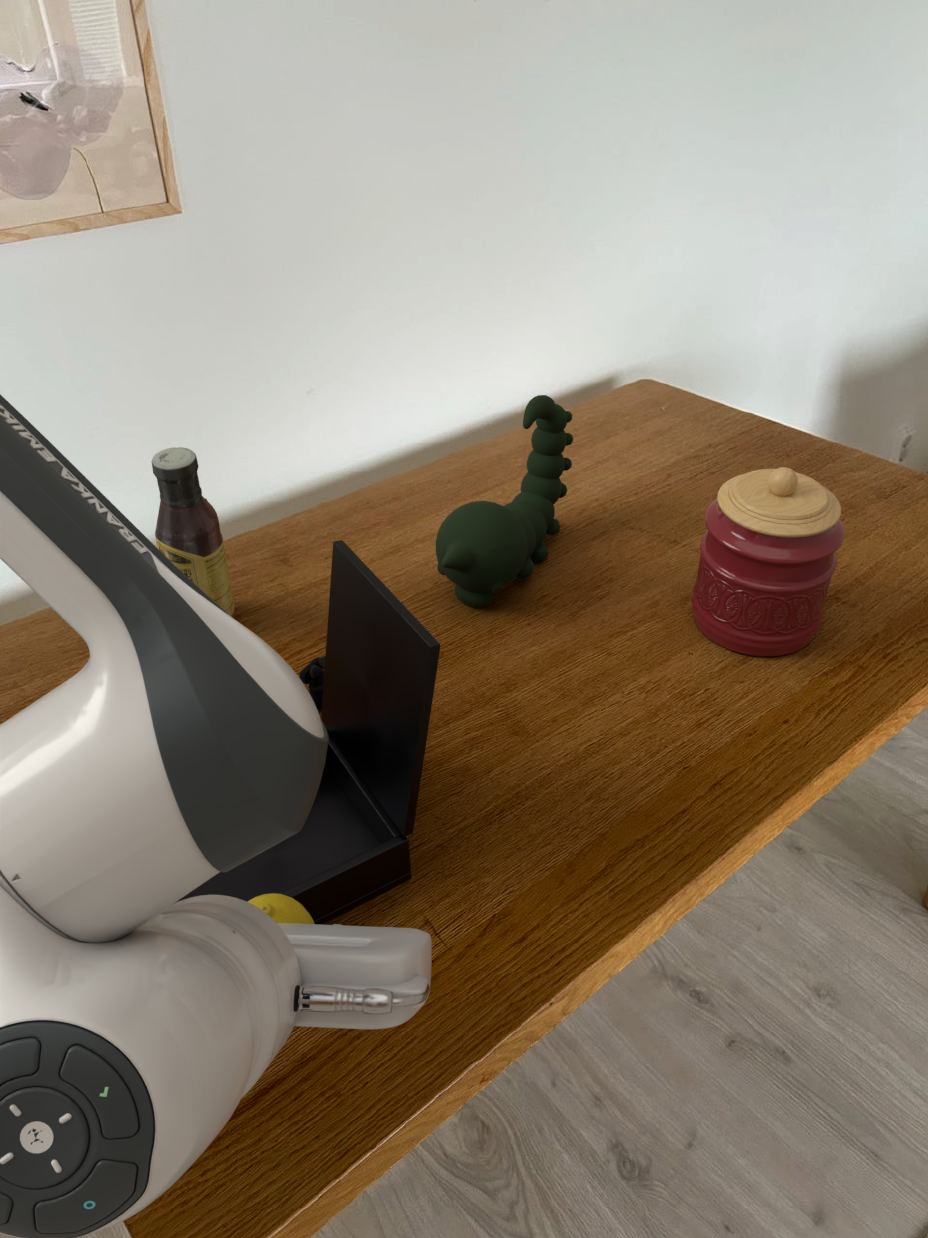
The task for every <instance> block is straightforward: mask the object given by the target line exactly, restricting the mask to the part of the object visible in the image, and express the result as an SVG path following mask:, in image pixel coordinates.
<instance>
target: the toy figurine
mask: <svg viewBox="0 0 928 1238" xmlns="http://www.w3.org/2000/svg"><path fill="white" fill-rule="evenodd" d="M572 420H573V414H572V412H571V411H569V410H565V409H564V408H563V406H561V405H560V404H558V403H556V402H555V400H554V399H553V398H552V397H551V396H548V395H547V394H538V395H536V396H534V397H532V398H531V399H530V400H529V401H528V403H527V404H526V406H525V408H524V413H523V418H522V427H523V429H525V430H528V429H530V428H531V427H532V426H533V424H535V426H536V427H535V428H534V430H533V432H532V434H531V438H530V441H531V447H532V450H531V451H530V453H529V454H528V456H527V459H526V470H527V472H526V473H525V474H524V475H523V478H522V480H521V483H520V492H519V493H518V494H517V495H515V496H514V498H513V499H512V501H511V502H508V503H506V504H504V505H502V504H499V503H497V502H494V501H487V500H476V501H475V500H473V501H471V502H468V503H467V502H466V503H464V504H462V505H460V506H459V507H457V508H454V509H453V510H452V511H451V512H450V513H449V514H448V515H447V516H446V517H445V519H444V520H443V521H442V523H441V524H440V527H439V528H438V531H437V534H436V538H435V554H436V560H437V567H436V568H437V572H438V573H439V574H440V575H442V576H444V577H446V578H447V579H448V580H449V581H450V582H451V583H453V584H454V585H455V586H454V595H455V597H456V599H457V600H459V601H460V602H461V603H462V604H464V605H466V606H469V607H472V608H476V609H483V608H485V607H488V606H489V605H490V604H491V603H492V602H493V599H494V597H495V593H496V592H500V591H502V590H503V588H505V587H506V586H508V585H509V584H511V583H512V582H513V581H514V580H515V579H516V578H517V579H520V580H526V579H529V578H531V576H532V575H533V573H534V562H536V563H541V562H543V561H545V560H547V557H548V556H549V548H548V546H547V545H545V544H544V542H545V540H546V538H547V536H555V535H557V534H558V533H559V532H560V530H561V524H560V521H559V520H558V519H556V518H555V515H556V514H555V513H556V512H555V504H556V503H557V502H558V500H559V499H563V498H564V497H565V496H566V495H567V493H568V488H567V485H566V484H564V483H563V482H562V480H561V476H563V473H564V472H566V471H569V470H570V469H571V468H572V466H573V462H572V459H570V457H564V454H563V453H564V451H565V449H566V447H567V446H571V445H572V444H573V442H574V436H573V434H571V433H570V432H566V430H565V429H566V427H567V425H568V423H571V421H572Z"/></svg>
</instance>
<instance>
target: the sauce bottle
mask: <svg viewBox="0 0 928 1238" xmlns="http://www.w3.org/2000/svg"><path fill="white" fill-rule="evenodd" d="M198 462H199V461H198V457H197V454H196V453H195V452H194V451H193V450H192V449H190V448H187V447H183V446H182V447H181V446H179V447H168V448H165V449H162V450H160V451H158V452H156V453H155V454H154V456H153V457H152V459H151V467H152V468H151V469H152V474H153V476H154V477H155V478H156V481H157V482H156V483H157V487H158V491H159V508H158V512H157V513H158V514H157V519H156V526H155V532H154V537H155V543H156V545H157V546H156V547H157V548H158V549H159V550H160V551H161V552H162V553H163V554H164V555H165V556H166V557H167V558H168V559H169V560H170V561H171V562H172V563H173V564H174V565H175V566H176V567H177V568H178V569H179V570H180V571H181V572H182V573H183V574H184V575H186V576H187V577H188V578H189V579H190V580H191V581H192V582H193V583H194V584H195V585H196V586H197V587H199V588H200V589H201V590H202V591H203V592H204V593H205V594H206V595H208V596H209V597H210V598H211V599H212V600H213V601H214V602H216V603H217V604H218V605H219V606H220V607H221V608H222V609H223V610H225V611H226V612H227V613H228V614H229V615H230V616H231V617H232V618H233V619H235V620H236V613H235V600H234V595H233V587H232V582H231V577H230V572H229V566H228V560H227V554H226V548H225V547H226V546H225V542H224V537H223V535H222V532H221V527H220V520H219V516H218V513H217V511H216V509H215V508H214V506H213V505H212V504H211V503H210V502H209V500H208V499H207V498H205V497H204V495H203V490H202V487H201V485H200V484H201V483H200V478H199V475H198V470H199V463H198Z"/></svg>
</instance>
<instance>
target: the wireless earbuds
mask: <svg viewBox="0 0 928 1238" xmlns="http://www.w3.org/2000/svg"><path fill="white" fill-rule="evenodd" d="M324 670H325V655H323V656H321V657H314V658H313V659H312V660H311V661H310V662H309V663H308V664H306V666H304V668H302V669H301V671H300V672H299V678H300V679H301V681H302V682H303V684H304V685H308V692H309V694H310V695H311V697H312V699H313V701H314V703H315V705H316V708H317V710H318V711H322V699H323V684H324Z"/></svg>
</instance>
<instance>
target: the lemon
mask: <svg viewBox="0 0 928 1238" xmlns="http://www.w3.org/2000/svg"><path fill="white" fill-rule="evenodd" d="M248 903H251V904H253V905H254V906H256V907H258V908H259V909H261V910H262V911H264V912H265V913H266V914H268V915H269V916H270V917H271V918H272V919H273V920H274V921H275V922H276V923H294V924H314V921H313V919H312V917H311V916H310V914H309V913H308V912H307V910H306V909H305V908H304V907H303V906H302V905H301V904H300V903H299V902H297V901H296V900H294V899H293V898H291V897H288V896H286V895H283V894H275V893H271V894H264V895H260V896H257V897H255V898H253V899H251V900H249V901H248Z"/></svg>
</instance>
